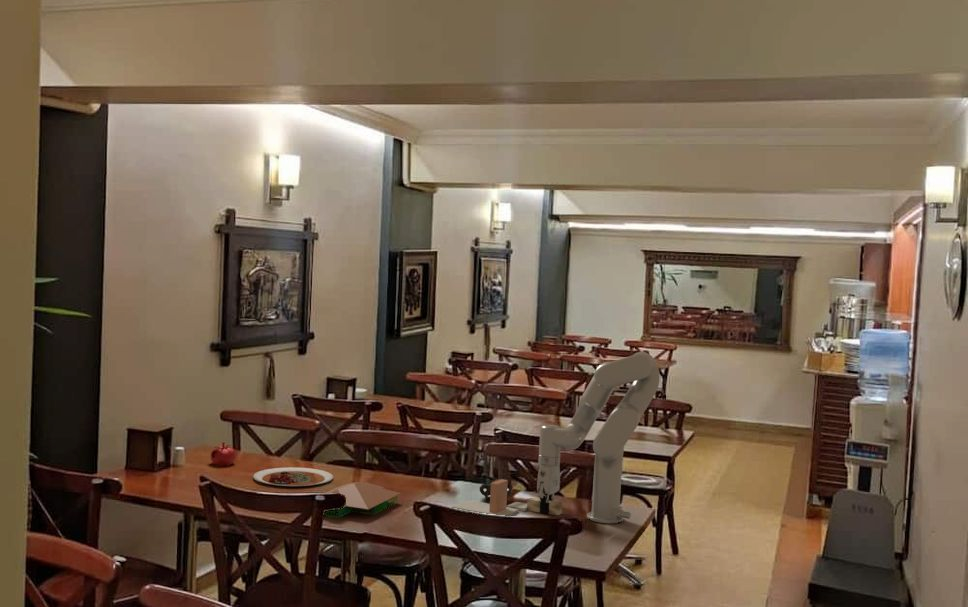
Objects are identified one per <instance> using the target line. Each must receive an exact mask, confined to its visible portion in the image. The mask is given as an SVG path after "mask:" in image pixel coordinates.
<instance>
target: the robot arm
mask: <svg viewBox="0 0 968 607" xmlns="http://www.w3.org/2000/svg"><path fill="white" fill-rule="evenodd" d="M660 375H661V374H660V370H659V365H658V364H657V362H656V361H655V358H654V357H653V356H652V354H650V353H648V352H646V351H639V352H635V353H633V355H629V356H626V357H623V358H620V359H616V360H612V361H605V362H602V363H600V364H599V365H598V366H596V368H595V370H594V374H593V376H592V378H591V380H590V382H589V383H588V385H587V387H585V388H586V389H585V390H584V391H583V393H582V395H581V397H580V399H579V404H578V407H577V409H576V411H575V413H574V415H573V416H572V419H571V420H570V422H569V423H568V425H567V426H566V427H564V428H562V427H561V426H559V425H556V424H542V425H541V426H540V429H539V430H540V431H539V443H538V445H539V446H538V447H539V448H538V460H537V461H538V462H537V464H538V465H539V466H538V471H537V472H538V473H537V482H536V492H537V494H538V495H537V497H538V499H540V512H539V514H545V515H550V514H549V503H548V500H551V501H555V500H554V499H555V493H558V492H559V491H560V488H561V487H560V486H561V470H560V465H561V449H564V450H565V449H566V450H576V449H578V448H579V447H580V446H581V445H582V443H584V441H585V439H586V437H587V436H588V435H589V432H590V431H591V429H592V427H593V425H594V424H595V422H596V421H597V418H599V415H601V413H602V412H603V410H604V408H605V407H606V405H607V403H608V401H609V400H610V397H611V396H612V394H613V393H614V391H615V389H616V387H619V386H620V387H621V386H622V385H627V384H629V383H631V384H630V387H629V388H628V390H627V392H626V393H625V395H624V396H623V398H621V400H620V402H619V403H618V404H617V405H616V406H615V408H614V409H613V410H612V411H611V413H610V414H609V416H608V417H607V419H606V420H605V422H604V424H602V426H601V427H600V429H599V431H598V433H597V435H595V438H593V442H592V450H593V453H594V463H593V464H594V465H593V466H594V467H593V482H592V484H593V485H592V500H591V511H589V512H587V513H586V518H587V519H588V520H589V519H590V520H589V521H592V522H595V523H601V524H619V523H618V522H620V523H622V522H623V521H624V519H627V520H631V517H632V515H631V512H630V511H625V510H623V506H620V505H621V492H622V490H621V489H622V488H621V487H622V474H623V462H624V461H623V460H624V451H625V446H626V445H627V442H628V441H629V439H630V438H631V436H632V434H633V433H634V432H635V430H636V428H637V427H638V425H639V423H640V420H641V418H642V416H643V415H644V413H645V411H646V410H647V408H649V405H650V403H651V402H652V400H653V399H654V397H655V396H656V393H657V391H658V388H659V385H660V379H661V378H660V377H661V376H660ZM621 521H622V522H621Z"/></svg>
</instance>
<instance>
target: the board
mask: <svg viewBox="0 0 968 607" xmlns="http://www.w3.org/2000/svg"><path fill="white" fill-rule="evenodd" d="M452 508H457V509H462V510H467V511H474V512H479V513H486V514H496V515H505V516H509V517H510V515H511V516H513V515H515V514H517V513H519V510H518V509H514V508H509V507H507V506H506V509H504V510H502V511H500V512H498V513H492V512H489V509H490V503H487V502H482V501H476V500H471V499H468V500H467V499H466V500H464V501H462V502H460V503H457V504H455V505H452V506H451V509H452Z"/></svg>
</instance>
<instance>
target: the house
mask: <svg viewBox="0 0 968 607" xmlns="http://www.w3.org/2000/svg"><path fill="white" fill-rule="evenodd" d="M330 493H340V494H343V495H345V497H346V505H345V506H344V507H343V508H341V509H337V512H338V513H336V509H333V511H331V510H329V512H330V513H333V517H335V518H338V519H339V518H340V517H343V516H344V515H347V514H349V513H350V512H351V511H352V512H354V511H355V512H356V513H357V510H356V509H360V510H364V511H365V512H366V511H367V512H366V514H371V512H370V511H369V510H371V509H372V515H375V514H377V513H379V512H381V511H383V509H385V508H386V509H387V507H388V502H389V501H390V500H392V499H394V500H393V501H392V502H391V503H390V505H391V506H393V505H395V504H397V503H396V502H397V501H398V496H399V495H401V492H397V491H394V490H390V489H386V488H385V487H384V486H382V485H377V484H374V483H370V482H361V481H356V482H350V483H346V484H343V485H340V486H338V487H335V488H332V489H330V490H328V491H325V492H323V493H322V494H330ZM394 503H395V504H394ZM392 504H393V505H392ZM353 508H354V509H353ZM373 508H376V509H379V510H378V511H376V512H375V509H373ZM349 509H350V510H349ZM340 511H341V513H340ZM364 511H360V513H362V514H364ZM327 513H328V511H327V512H326V513H325V512H324V515H328V514H327ZM335 513H336V515H335ZM343 513H344V514H343ZM329 517H331V518H332V515H329Z"/></svg>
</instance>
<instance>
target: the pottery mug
mask: <svg viewBox="0 0 968 607" xmlns="http://www.w3.org/2000/svg"><path fill="white" fill-rule="evenodd" d="M498 480H500V478H499V479H495V480H494V481H493V482H495V481H498ZM491 483H492V482H490V483H489V484H487V483H482V484H481V485H480V487H479V492H480V494H481V495H482V496H484V499H488V498H489V497H490V491H491ZM512 490H513V487H512V485H511V484H510V483H509V482H508V487H507V500H508V499H509V498H511V496H512Z"/></svg>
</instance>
